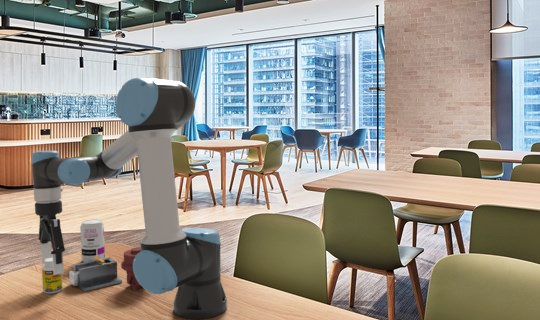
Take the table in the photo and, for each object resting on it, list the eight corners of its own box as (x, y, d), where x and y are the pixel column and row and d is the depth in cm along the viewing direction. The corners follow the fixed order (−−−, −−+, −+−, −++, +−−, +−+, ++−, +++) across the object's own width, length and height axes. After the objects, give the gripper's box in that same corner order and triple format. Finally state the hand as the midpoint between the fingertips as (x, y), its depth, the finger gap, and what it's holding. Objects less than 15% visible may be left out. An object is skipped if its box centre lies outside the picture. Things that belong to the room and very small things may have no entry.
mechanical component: (159, 281, 151) (145, 293, 141) (131, 279, 153) (115, 290, 143) (158, 245, 150) (144, 254, 140) (130, 243, 152) (114, 252, 142)
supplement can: (100, 255, 178) (99, 218, 176) (108, 261, 171) (106, 222, 170) (78, 259, 172) (77, 221, 171) (86, 265, 166) (84, 225, 165)
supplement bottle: (42, 295, 139) (41, 263, 138) (43, 289, 144) (41, 257, 143) (63, 292, 142) (61, 260, 140) (62, 286, 147) (61, 255, 145)
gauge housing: (121, 282, 150) (121, 264, 149) (84, 291, 142) (83, 272, 142) (106, 271, 160) (105, 254, 160) (70, 279, 153) (70, 261, 152)
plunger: (110, 279, 151) (109, 260, 150) (75, 287, 144) (74, 267, 143) (102, 273, 156) (101, 254, 155) (68, 280, 149) (67, 261, 148)
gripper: (73, 204, 133) (77, 275, 134) (50, 194, 152) (54, 256, 154) (45, 208, 128) (50, 281, 130) (25, 197, 147) (29, 261, 149)
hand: (52, 268), depth 142 cm, fingers open, 13 cm apart
